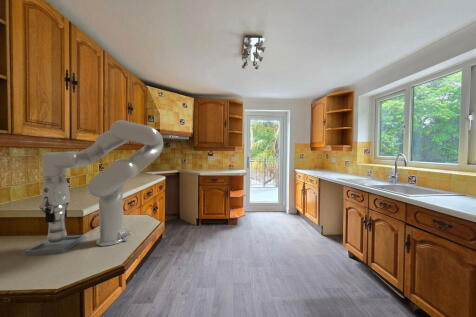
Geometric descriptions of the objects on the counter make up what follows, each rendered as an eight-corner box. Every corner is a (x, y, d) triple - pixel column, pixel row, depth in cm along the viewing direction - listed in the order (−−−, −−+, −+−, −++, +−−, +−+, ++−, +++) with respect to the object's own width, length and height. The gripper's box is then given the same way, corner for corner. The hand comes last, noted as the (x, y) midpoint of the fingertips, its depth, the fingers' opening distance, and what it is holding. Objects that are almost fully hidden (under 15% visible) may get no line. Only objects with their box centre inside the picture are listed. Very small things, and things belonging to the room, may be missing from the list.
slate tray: (85, 239, 99) (85, 235, 99) (62, 253, 84) (62, 248, 84) (53, 241, 98) (53, 237, 98) (24, 255, 83) (24, 251, 83)
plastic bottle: (55, 245, 87) (53, 199, 87) (43, 244, 89) (41, 198, 88) (70, 239, 93) (69, 196, 93) (59, 238, 95) (57, 196, 95)
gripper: (47, 181, 83) (49, 225, 83) (77, 177, 100) (79, 214, 100) (27, 182, 82) (29, 226, 82) (61, 178, 99) (62, 214, 99)
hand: (56, 219), depth 91 cm, fingers closed on plastic bottle, 6 cm apart
